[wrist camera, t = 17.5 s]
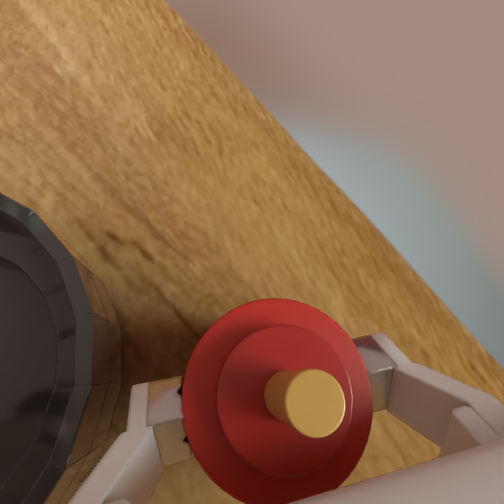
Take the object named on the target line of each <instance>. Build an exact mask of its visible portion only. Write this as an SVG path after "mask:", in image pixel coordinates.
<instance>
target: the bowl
mask: <svg viewBox="0 0 504 504" xmlns="http://www.w3.org/2000/svg"><path fill="white" fill-rule="evenodd" d="M121 382H122V364H121V329H120V325H119V322H118V320H117V317H116V314H115V312H114V309H113V306H112V304H111V301H110V298H109V296H108V293H107V290H106V288H105V285H104V284H103V282H102V280H101V279H100V278H99V277H98V276H97V275H96V274H95V272H94V271H93V270H92V269H91V268H90V267H89V266H88V264H87V263H86V262H85V261H84V260H83V259H82V258H81V256H80V255H79V254H78V253H77V252H76V251H75V250H74V249H73V248H72V247H71V246H70V245H69V244H68V243H67V242H66V241H65V240H64V239H63V238H62V237H61V236H60V235H58V234H57V232H55V231H54V230H53V229H52V228H51V227H50V226H49V225H48V224H47V223H46V222H45V221H44V220H43V219H42V218H41V217H40V216H39V215H38V214H37V213H35V212H34V211H33V210H31V209H29V208H27V207H25V206H24V205H22V204H20V203H18V202H16V201H14V200H13V199H11V198H9V197H7V196H5V195H3V194H2V193H0V504H68V503H69V501H70V499H71V498H72V496H73V494H74V493H75V491H76V489H77V488H78V486H79V484H80V483H81V481H82V479H83V478H84V476H85V475H86V473H87V471H88V470H89V468H90V466H91V465H92V463H93V461H94V460H95V458H96V456H97V455H98V453H99V451H100V450H101V448H102V446H103V444H104V442H105V440H106V436H107V433H108V429H109V426H110V422H111V419H112V415H113V412H114V408H115V405H116V401H117V398H118V394H119V391H120V387H121Z"/></svg>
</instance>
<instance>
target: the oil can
mask: <svg viewBox="0 0 504 504" xmlns="http://www.w3.org/2000/svg"><path fill="white" fill-rule="evenodd" d="M181 400H182V413H183V414H184V421H183V423H184V429H185V432H186V435H187V439H188V442H189V445H190V447H191V449H192V451H193V454H194V456H195V458H196V459H197V461H198V463H199V464H200V466H201V467H202V469H203V470H204V471H205V473H206V474H207V475H208V476H209V478H210V479H211V480H212V481H213V482H214V483H215V484H216V485H217V486H218V487H220V488H221V489H222V490H223V491H224V492H226V493H227V494H229V495H230V496H232V497H233V498H235V499H237V500H239V501H241V502H243V503H245V504H288V503H291V502H294V501H298V500H301V499H304V498H308V497H311V496H314V495H317V494H321V493H324V492H327V491H331V490H334V489H337V488H338V487H339V486H340V485H341V484H342V483H343V482H344V481H345V480H346V479H347V478H348V477H349V475H350V474H351V472H352V471H353V470H354V468H355V467H356V465H357V463H358V462H359V460H360V458H361V456H362V454H363V452H364V449H365V447H366V444H367V441H368V437H369V433H370V430H371V423H372V415H373V399H372V389H371V384H370V379H369V375H368V374H367V369H366V366H365V363H364V361H363V359H362V357H361V355H360V352H359V351H358V349H357V347H356V346H355V344H354V342H353V341H352V340H351V338H350V337H349V336H348V334H347V333H346V332H345V331H344V330H343V329H342V328H341V327H340V326H339V325H338V324H337V323H336V322H335V321H334V320H333V319H331V318H330V317H329V316H328V315H326V314H325V313H323V312H321V311H320V310H318V309H316V308H314V307H312V306H310V305H307V304H305V303H301V302H298V301H294V300H289V299H279V298H271V299H261V300H256V301H252V302H249V303H246V304H243V305H241V306H239V307H237V308H235V309H233V310H231V311H229V312H228V313H226V314H225V315H223V316H222V317H221V318H219V319H218V320H217V321H216V322H215V323H214V324H213V325H212V326H211V327H210V328H209V329H208V330H207V331H206V333H205V334H204V335H203V336H202V338H201V339H200V341H199V342H198V344H197V346H196V347H195V349H194V351H193V353H192V355H191V358H190V360H189V363H188V366H187V369H186V372H185V377H184V381H183V387H182V399H181Z"/></svg>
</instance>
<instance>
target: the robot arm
mask: <svg viewBox="0 0 504 504" xmlns="http://www.w3.org/2000/svg"><path fill="white" fill-rule="evenodd" d="M351 340H352V341H353V342H354V344H355V346H356V347H357V349H358V351H359V352H360V355H361V357H362V359H363V361H364V363H365V366H366V369H367V374H368V375H369V379H370V384H371V389H372V399H373V412H376V411H380V410H385V409H387V411H388V412H390V413H391V414H393V415H394V416H395V417H397V418H398V419H400V420H401V421H403V422H404V423H406V424H407V425H409V426H410V427H411V428H413V429H414V430H416V431H417V432H419V433H420V434H422V435H423V436H425V437H426V438H427V439H429V440H430V441H432V442H433V443H435V444H436V445H438V446H439V447H441V449H440V453H439V456H438V458H436V459H433V460H429V461H426V462H423V463H419V464H416V465H413V466H410V467H406V468H403V469H400V470H396V471H393V472H390V473H387V474H383V475H380V476H377V477H373V478H370V479H367V480H364V481H360V482H357V483H354V484H350V485H347V486H344V487H341V488H337V489H334V490H331V491H327V492H324V493H321V494H317V495H314V496H311V497H308V498H304V499H301V500H298V501H294V502H291V503H288V504H504V405H503V404H502V403H501V402H500V401H499V400H497V399H496V398H495V397H494V396H492V395H490V394H487V393H485V392H483V391H481V390H478V389H476V388H474V387H471V386H469V385H467V384H464V383H462V382H460V381H458V380H455V379H453V378H451V377H448V376H446V375H444V374H442V373H439V372H437V371H435V370H432V369H430V368H428V367H425V366H423V365H421V364H419V363H412V362H411V361H410V360H409V359H408V358H407V357H406V356H405V355H404V354H403V353H402V352H401V351H400V350H399V348H398V347H397V346H396V345H395V344H394V343H393V342H392V341H391V340H390V339H389V338H388V337H387V336H386V335H385V334H384V333H382V332H378V333H374V334H369V335H365V336H361V337H356V338H352V339H351ZM182 387H183V378H182V375H181V376H176V377H170V378H165V379H160V380H155V381H150V382H146V383H141V384H135V385H133V386H132V388H131V393H130V402H129V411H128V420H127V428H126V432H123V433H121V434H120V435H119V436H118V438H117V439H116V440H115V442H114V443H113V444H112V446H111V447H110V448H109V449H108V451H107V452H106V453H105V455H104V456H103V457H102V459H101V460H100V461H99V463H98V464H97V465H96V467H95V468H94V469H93V471H92V472H91V473H90V475H89V476H88V477H87V479H86V480H85V481H84V483H83V484H82V485H81V487H80V488H79V489H78V491H77V492H76V493H75V495H74V496H73V497H72V499H71V500H70V501H69V503H68V504H147V503H148V501H149V499H150V497H151V495H152V493H153V491H154V489H155V487H156V485H157V483H158V481H159V479H160V477H161V474H162V472H163V470H164V469H163V468H164V467H168V466H171V465H175V464H178V463H181V462H185V461H188V460H192V449H191V447H190V445H189V442H188V439H187V435H186V432H185V429H184V423H183V421H184V414H183V413H182V400H181V399H182Z"/></svg>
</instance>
